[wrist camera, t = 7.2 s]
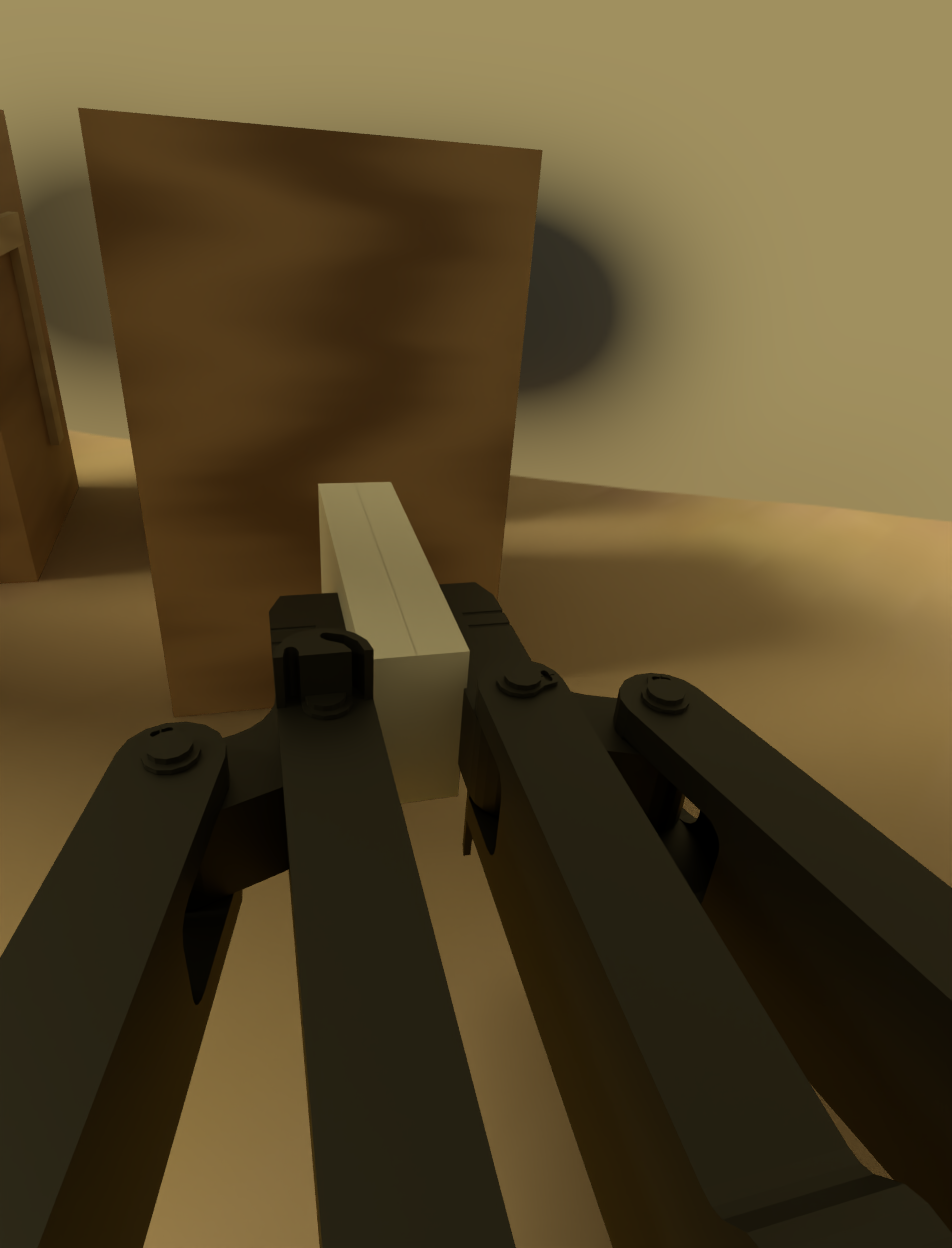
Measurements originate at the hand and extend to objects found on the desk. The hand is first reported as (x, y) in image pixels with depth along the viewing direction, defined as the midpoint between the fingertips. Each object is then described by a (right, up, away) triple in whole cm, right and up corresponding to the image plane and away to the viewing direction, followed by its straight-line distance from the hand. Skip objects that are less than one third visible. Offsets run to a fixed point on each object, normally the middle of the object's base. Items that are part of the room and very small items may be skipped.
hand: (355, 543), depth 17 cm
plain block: (-3, -2, +10) cm, 10 cm away
